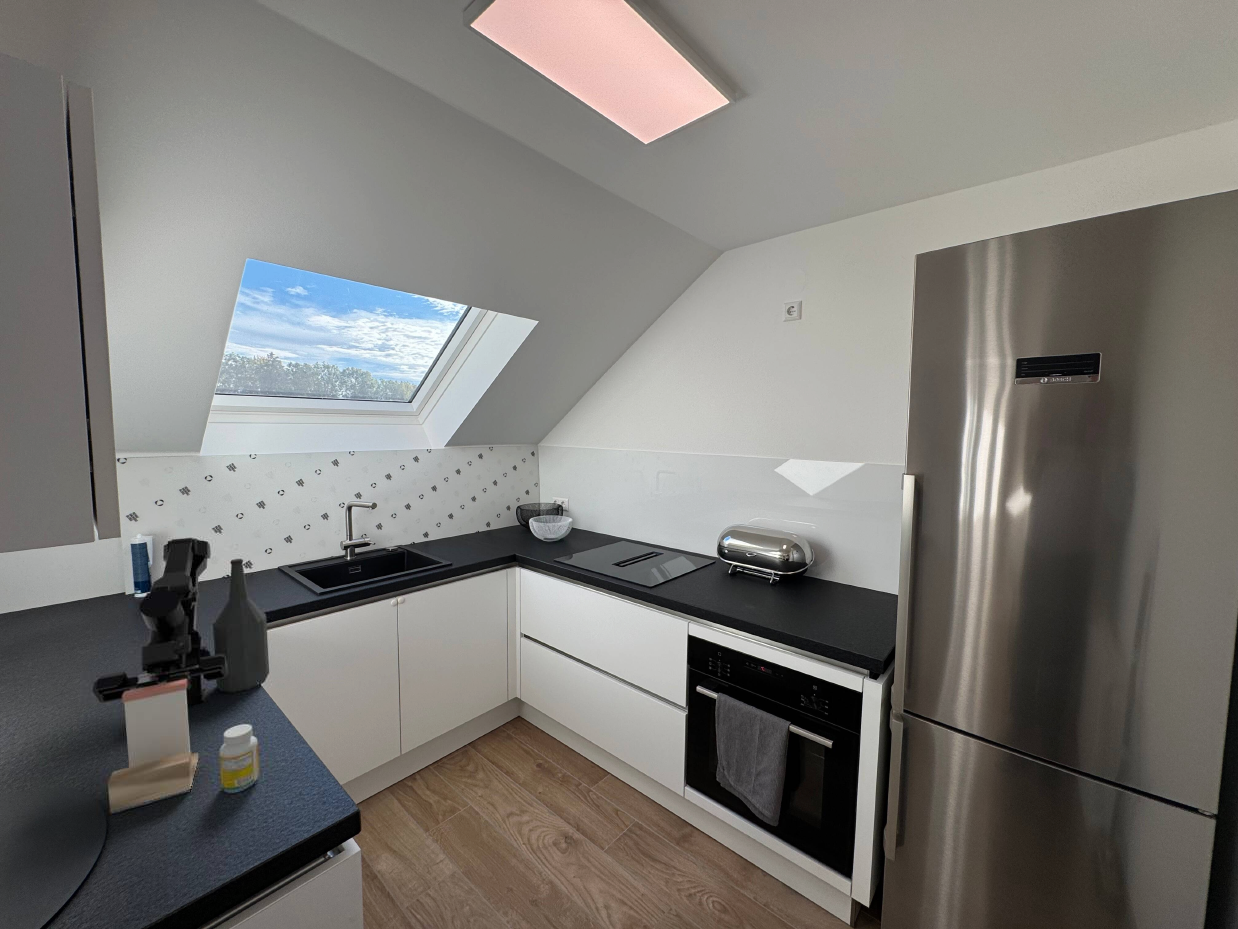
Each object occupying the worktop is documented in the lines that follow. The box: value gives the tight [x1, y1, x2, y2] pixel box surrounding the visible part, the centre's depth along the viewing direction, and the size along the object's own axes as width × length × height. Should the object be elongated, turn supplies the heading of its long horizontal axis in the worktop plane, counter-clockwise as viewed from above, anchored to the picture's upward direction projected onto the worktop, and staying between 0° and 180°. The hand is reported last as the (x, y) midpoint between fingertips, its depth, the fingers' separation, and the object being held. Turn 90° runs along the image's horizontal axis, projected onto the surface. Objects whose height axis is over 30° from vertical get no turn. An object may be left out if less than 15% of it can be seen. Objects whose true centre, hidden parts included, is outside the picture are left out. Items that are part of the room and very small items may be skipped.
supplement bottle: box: [219, 723, 260, 790], centre depth 92 cm, size 5×5×10 cm
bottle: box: [212, 558, 270, 693], centre depth 126 cm, size 10×10×30 cm
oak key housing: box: [107, 751, 199, 812], centre depth 91 cm, size 10×10×6 cm
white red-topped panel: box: [121, 679, 191, 768], centre depth 94 cm, size 2×8×14 cm, turn 122°
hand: (161, 723), depth 96 cm, fingers closed
